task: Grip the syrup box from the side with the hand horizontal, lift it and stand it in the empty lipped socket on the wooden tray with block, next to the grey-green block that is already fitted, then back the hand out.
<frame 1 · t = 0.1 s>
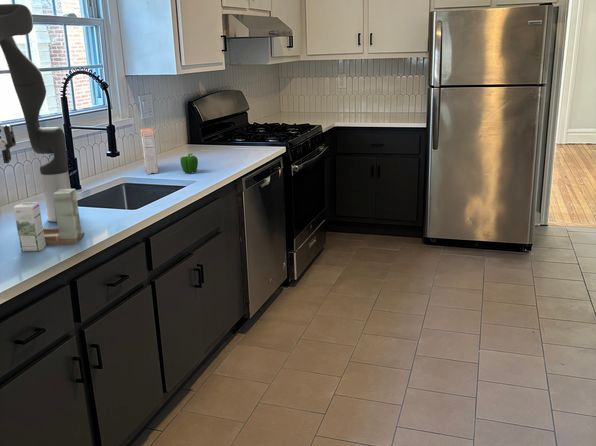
bell pepper: (190, 173, 287), on the countertop
wooden tray with block: (57, 240, 189), on the countertop
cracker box: (151, 172, 292), on the countertop
syrup box: (33, 249, 181), on the countertop
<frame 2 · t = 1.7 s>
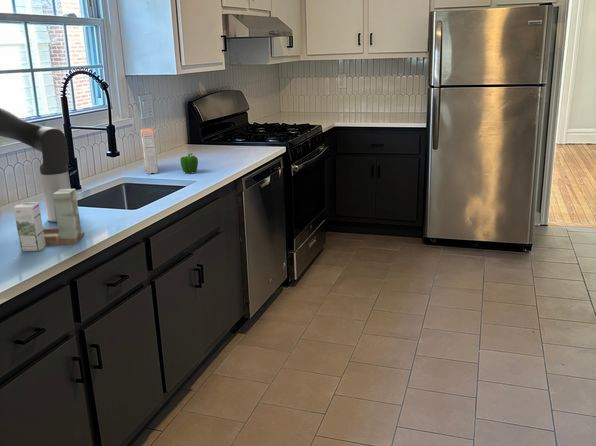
nothing on the countertop moved.
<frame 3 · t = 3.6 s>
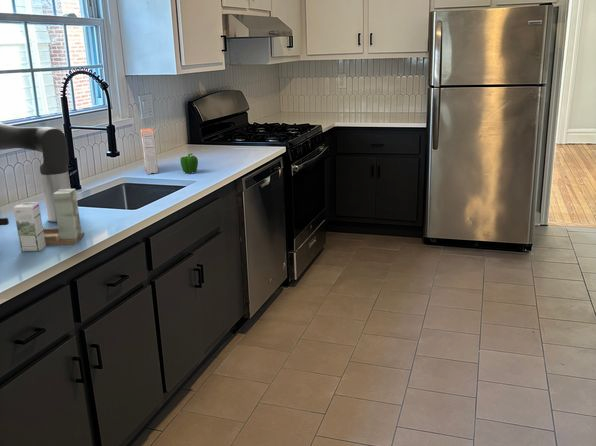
hand: (3, 225, 178), 8 cm above the countertop, tool horizontal, fingers open, 8 cm apart
nothing on the countertop moved.
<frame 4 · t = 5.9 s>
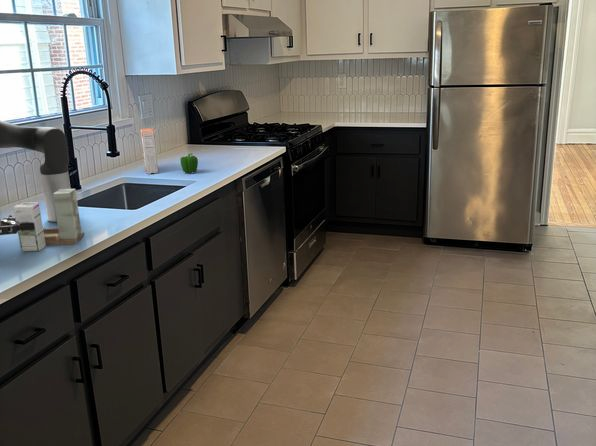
hand: (37, 222, 179), 8 cm above the countertop, tool horizontal, fingers closed on syrup box, 6 cm apart
syrup box: (33, 249, 181), on the countertop, touching gripper
everything else where it was.
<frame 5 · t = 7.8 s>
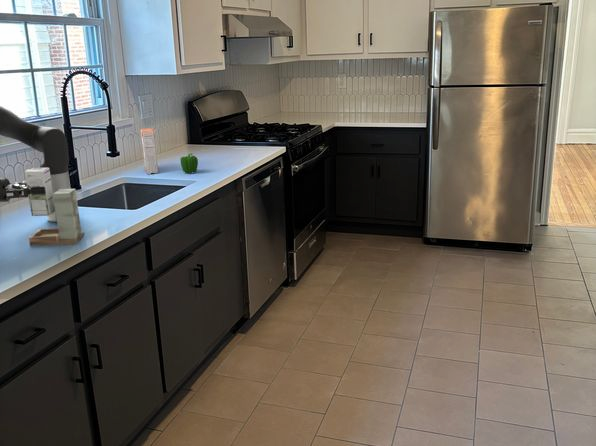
hand: (47, 187, 183), 18 cm above the countertop, tool horizontal, fingers closed on syrup box, 6 cm apart
syrup box: (43, 214, 185), point 9 cm above the countertop, touching gripper
everything else where it was.
when the fingers open (10 cm above the countertop, at t = 9.9 s): syrup box stays where it is, resting on wooden tray with block.
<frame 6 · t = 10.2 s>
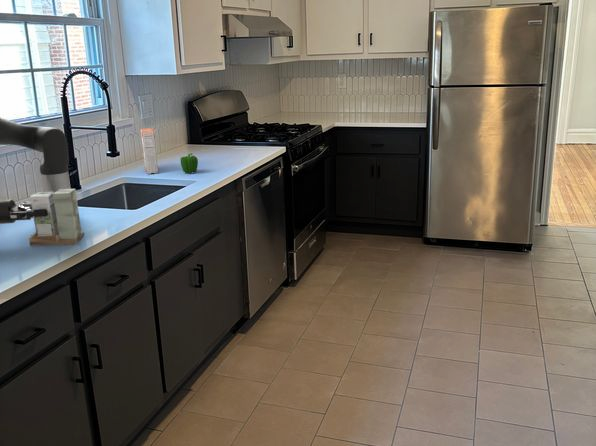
hand: (51, 208, 186), 11 cm above the countertop, tool horizontal, fingers open, 8 cm apart
syrup box: (49, 237, 189), point 1 cm above the countertop, touching wooden tray with block
everything else where it was.
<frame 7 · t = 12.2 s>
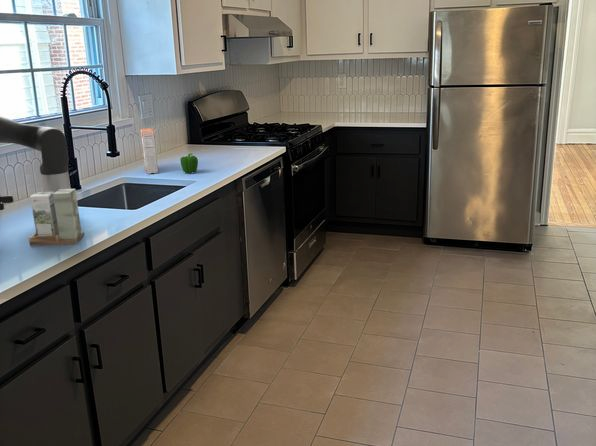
hand: (8, 202, 184), 13 cm above the countertop, tool horizontal, fingers open, 8 cm apart
nothing on the countertop moved.
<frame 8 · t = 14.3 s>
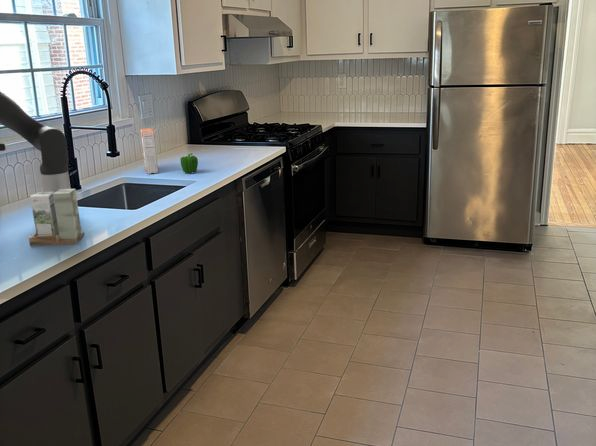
hand: (0, 149, 181), 30 cm above the countertop, tool horizontal, fingers open, 8 cm apart
nothing on the countertop moved.
at the end: syrup box 0.1 cm from the target spot, point 1.0 cm above the countertop; syrup box tilted 0°; the gripper is holding nothing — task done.
